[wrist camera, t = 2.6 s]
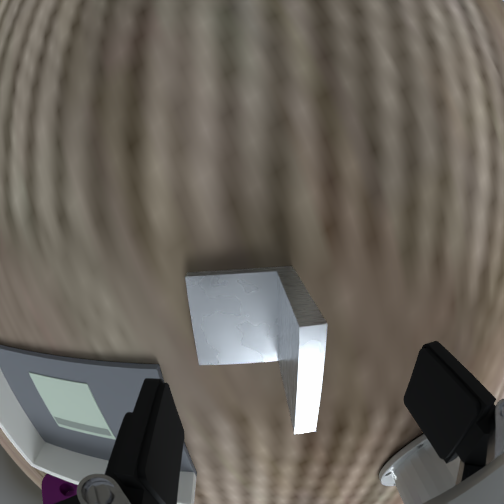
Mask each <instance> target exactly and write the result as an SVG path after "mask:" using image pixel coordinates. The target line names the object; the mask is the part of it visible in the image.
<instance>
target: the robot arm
mask: <svg viewBox="0 0 504 504" xmlns="http://www.w3.org/2000/svg"><path fill="white" fill-rule="evenodd" d="M495 400H496V398H495V397H494V396H493V395H492V394H491V393H490V392H489V391H488V390H487V389H486V388H485V387H484V386H483V385H482V384H481V383H480V382H479V381H478V380H477V379H476V378H475V377H474V376H473V375H472V374H471V373H470V372H469V371H468V370H467V369H466V368H465V367H464V366H463V365H462V364H461V363H460V362H459V361H458V360H457V359H456V358H455V357H454V356H453V355H452V354H451V353H450V352H449V351H448V350H446V349H445V348H444V347H443V346H442V345H441V344H440V343H439V342H437V341H434V342H431V343H428V344H425V345H423V347H422V349H421V350H420V351H419V354H418V357H417V361H416V364H415V367H414V370H413V373H412V376H411V379H410V382H409V385H408V388H407V390H406V393H405V396H404V404H405V406H406V407H407V408H408V410H409V411H410V413H411V414H412V416H413V417H414V419H415V421H416V422H417V424H418V425H419V427H420V428H421V430H422V431H423V433H424V434H423V435H421V436H420V437H418V438H417V439H415V440H414V441H412V442H411V443H409V444H408V445H407V446H405V447H404V448H403V449H401V450H400V451H399V452H398V453H397V454H395V455H394V456H393V457H392V458H391V459H390V460H389V461H388V462H387V463H386V464H385V465H384V466H383V468H382V470H381V471H380V473H379V479H380V481H381V483H382V484H383V485H384V486H395V485H396V487H397V489H398V491H399V494H400V496H401V498H402V500H403V503H404V504H504V399H501V400H500V401H499V402H498V403H497V404H496V406H495V405H494V402H495ZM183 444H184V429H183V426H182V424H181V421H180V418H179V415H178V412H177V409H176V406H175V403H174V400H173V397H172V394H171V391H170V388H169V385H168V383H164V382H163V380H162V379H156V378H146V379H145V380H144V382H143V385H142V387H141V390H140V393H139V396H138V399H137V401H136V404H135V407H134V410H133V412H127V413H126V414H125V416H124V418H123V421H122V424H121V426H120V429H119V432H118V435H117V438H116V441H115V444H114V447H113V450H112V453H111V456H110V459H109V462H108V465H107V468H106V471H105V475H104V474H91V475H88V476H86V477H84V478H83V479H82V480H81V481H80V482H79V484H78V486H77V495H74V496H72V497H69V498H67V499H64V500H62V501H59V502H57V503H54V504H177V496H178V486H179V477H180V468H181V460H182V452H183Z"/></svg>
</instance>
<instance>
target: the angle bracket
mask: <svg viewBox="0 0 504 504" xmlns="http://www.w3.org/2000/svg"><path fill="white" fill-rule="evenodd" d="M185 280H186V287H187V294H188V301H189V308H190V314H191V321H192V327H193V333H194V339H195V344H196V350H197V356H198V361H199V365H222V364H242V363H257V362H270V361H278V362H279V367H280V371H281V376H282V380H283V385H284V389H285V394H286V398H287V403H288V408H289V412H290V417H291V421H292V426H293V430H294V434H300V433H307V432H313V431H316V424H317V418H318V411H319V403H320V396H321V388H322V379H323V370H324V360H325V349H326V338H327V322H326V320H325V319H324V317H323V315H322V314H321V312H320V310H319V309H318V307H317V306H316V304H315V302H314V301H313V299H312V297H311V296H310V294H309V292H308V291H307V289H306V287H305V286H304V284H303V283H302V281H301V279H300V278H299V276H298V274H297V273H296V271H295V270H294V268H293V266H281V267H266V268H251V269H235V270H219V271H202V272H187V274H186V276H185Z"/></svg>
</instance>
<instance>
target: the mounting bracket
mask: <svg viewBox="0 0 504 504" xmlns="http://www.w3.org/2000/svg"><path fill="white" fill-rule="evenodd" d="M77 486H78V485H76V484H73V483H71V482H68V481H65V480H63V479H60V478H57V477H55V476H52V475H50V474H48V473H47V474H46V475H45V477H44V479H43V481H42V496H43V504H54V503H57V502H59V501H62V500H64V499H67V498H69V497H72V496H74V495H77ZM68 491H69V492H68Z"/></svg>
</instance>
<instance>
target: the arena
mask: <svg viewBox="0 0 504 504" xmlns="http://www.w3.org/2000/svg"><path fill="white" fill-rule="evenodd" d="M146 378H156V379H162V380H163V377H162V373H161V370H160V366H159V364H137V363H120V362H107V361H97V360H87V359H78V358H70V357H63V356H56V355H50V354H44V353H38V352H32V351H27V350H22V349H17V348H12V347H8V346H3V345H0V428H1V429H2V430H3V432H4V433H5V435H6V436H7V437H8V439H9V440H10V441H11V442H12V444H13V445H14V446H15V447H16V449H17V450H18V451H19V452H20V454H21V455H22V456H23V457H24V458H25V459H26V461H27V462H28V463H29V464H30V465H31V466H32V467H34V468H36V469H39V470H41V471H43V472H45V473H48V474H50V475H52V476H55V477H57V478H60V479H63V480H65V481H68V482H71V483H73V484H76V485H78V484H79V482H80V481H81V480H82V479H83V478H84V477H86V476H88V475H91V474H104V475H105V471H106V468H107V465H108V462H109V459H110V456H111V453H112V450H113V447H114V444H115V441H116V438H117V435H118V432H119V429H120V426H121V424H122V421H123V418H124V416H125V414H126V413H127V412H133V410H134V407H135V404H136V401H137V399H138V396H139V393H140V390H141V387H142V385H143V382H144V380H145V379H146ZM163 382H164V380H163ZM196 476H197V472H196V470H195V467H194V465H193V463H192V460H191V458H190V455H189V453H188V450H187V448H186V445H185V443H184V444H183V452H182V460H181V468H180V477H179V486H178V496H177V504H194V497H195V486H196Z"/></svg>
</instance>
